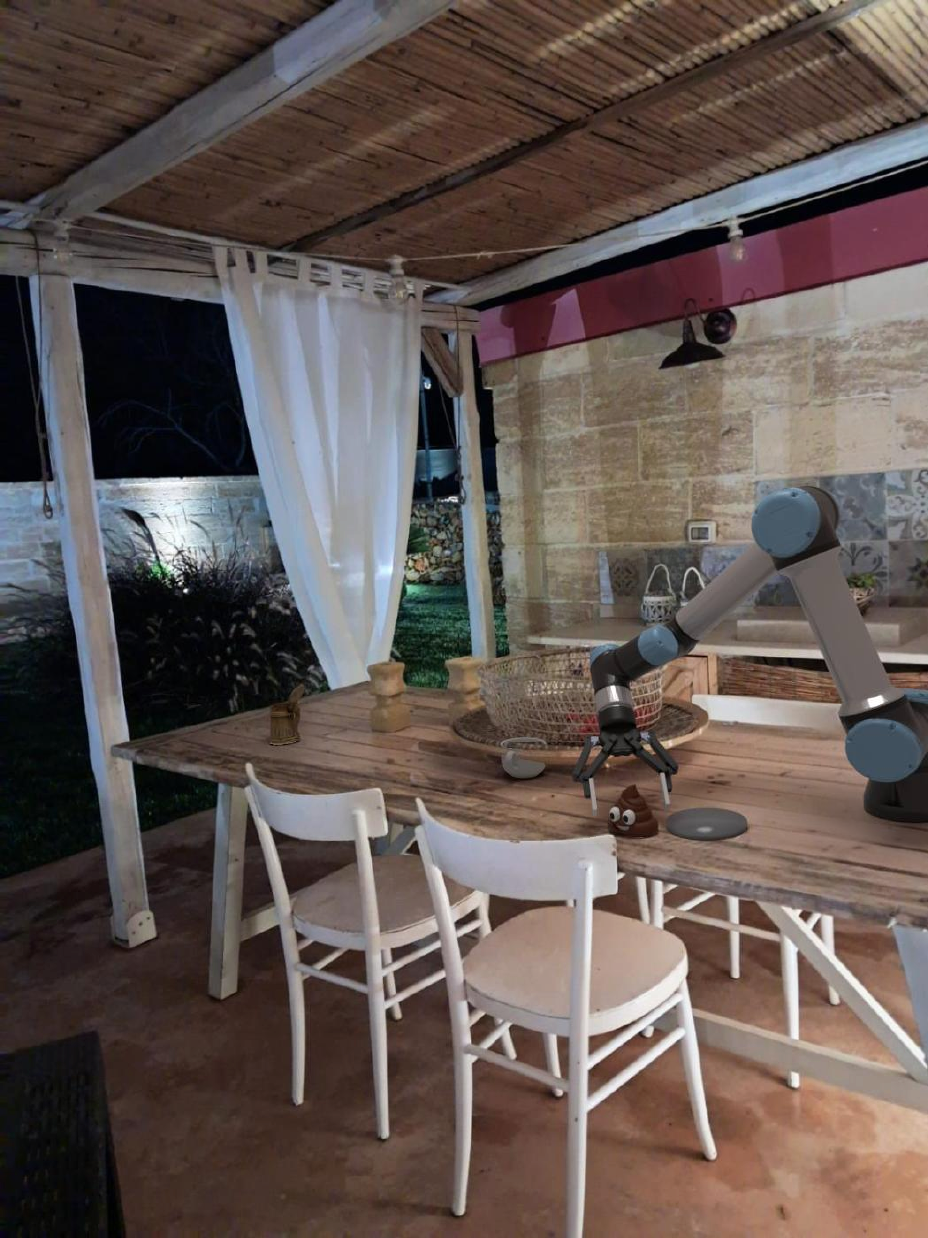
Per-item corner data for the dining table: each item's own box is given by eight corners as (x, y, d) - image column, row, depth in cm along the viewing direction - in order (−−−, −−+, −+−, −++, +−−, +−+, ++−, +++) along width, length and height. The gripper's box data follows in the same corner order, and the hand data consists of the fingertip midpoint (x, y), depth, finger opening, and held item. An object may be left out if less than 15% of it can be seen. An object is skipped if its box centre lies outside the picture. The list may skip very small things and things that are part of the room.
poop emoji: (667, 829, 176) (664, 781, 175) (641, 843, 170) (638, 794, 169) (624, 819, 183) (621, 774, 182) (598, 833, 178) (594, 786, 176)
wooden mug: (299, 747, 266) (291, 686, 263) (263, 745, 272) (256, 685, 270) (318, 739, 273) (311, 679, 271) (283, 737, 280) (276, 679, 278)
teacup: (520, 766, 227) (518, 734, 226) (557, 771, 220) (555, 738, 219) (485, 782, 216) (482, 749, 215) (523, 788, 209) (520, 753, 208)
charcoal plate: (735, 809, 183) (735, 805, 183) (756, 837, 168) (756, 831, 168) (659, 815, 184) (659, 810, 184) (673, 843, 169) (673, 838, 169)
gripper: (676, 718, 189) (695, 813, 176) (554, 728, 191) (564, 823, 178) (679, 698, 184) (700, 795, 170) (553, 708, 185) (564, 805, 172)
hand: (631, 810), depth 174 cm, fingers open, 13 cm apart
